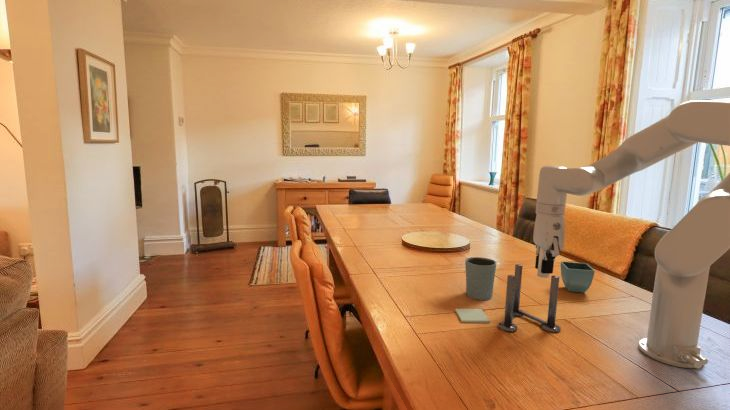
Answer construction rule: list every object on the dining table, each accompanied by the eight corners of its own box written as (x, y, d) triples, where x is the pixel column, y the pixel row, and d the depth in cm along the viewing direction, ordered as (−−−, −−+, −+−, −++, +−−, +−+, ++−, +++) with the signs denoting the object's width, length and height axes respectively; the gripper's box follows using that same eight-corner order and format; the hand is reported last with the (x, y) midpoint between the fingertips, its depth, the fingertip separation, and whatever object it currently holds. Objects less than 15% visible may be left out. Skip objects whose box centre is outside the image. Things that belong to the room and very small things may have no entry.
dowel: (551, 278, 112) (554, 244, 110) (540, 277, 112) (543, 244, 110) (546, 274, 115) (549, 241, 113) (535, 273, 115) (538, 241, 113)
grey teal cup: (473, 302, 125) (475, 266, 123) (457, 290, 134) (459, 257, 133) (500, 299, 127) (503, 264, 126) (483, 288, 137) (485, 255, 135)
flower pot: (593, 295, 132) (595, 270, 131) (565, 293, 134) (567, 268, 132) (584, 286, 140) (586, 263, 139) (557, 284, 142) (560, 261, 141)
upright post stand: (564, 332, 105) (569, 280, 103) (501, 332, 105) (505, 279, 102) (539, 309, 120) (543, 263, 117) (484, 309, 120) (487, 262, 117)
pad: (489, 322, 110) (489, 320, 110) (461, 322, 110) (461, 320, 110) (481, 310, 118) (481, 309, 118) (455, 310, 118) (455, 308, 118)
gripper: (578, 215, 102) (570, 281, 105) (550, 205, 118) (544, 262, 121) (550, 214, 102) (543, 280, 105) (525, 204, 118) (520, 262, 121)
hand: (543, 270), depth 113 cm, fingers closed on dowel, 3 cm apart
